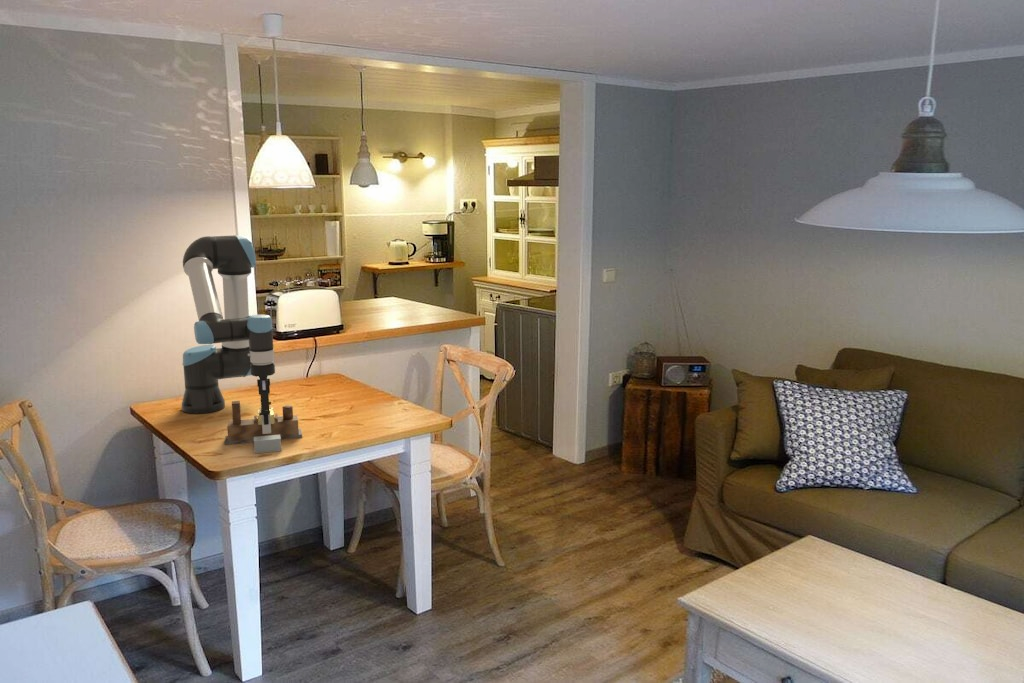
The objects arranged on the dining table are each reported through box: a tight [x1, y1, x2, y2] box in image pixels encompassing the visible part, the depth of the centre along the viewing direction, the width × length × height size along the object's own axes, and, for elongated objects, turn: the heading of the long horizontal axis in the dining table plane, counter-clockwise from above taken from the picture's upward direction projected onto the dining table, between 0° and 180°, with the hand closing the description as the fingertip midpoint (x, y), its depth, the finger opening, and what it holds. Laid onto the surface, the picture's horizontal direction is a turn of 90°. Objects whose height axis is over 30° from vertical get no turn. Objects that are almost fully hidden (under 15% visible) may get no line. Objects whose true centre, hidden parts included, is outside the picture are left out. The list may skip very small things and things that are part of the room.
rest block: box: [253, 435, 282, 454], centre depth 241 cm, size 4×8×4 cm, turn 109°
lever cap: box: [256, 406, 275, 425], centre depth 251 cm, size 5×9×4 cm, turn 19°
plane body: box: [224, 400, 303, 446], centre depth 251 cm, size 24×6×13 cm, turn 109°
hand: (266, 428), depth 252 cm, fingers open, 9 cm apart
